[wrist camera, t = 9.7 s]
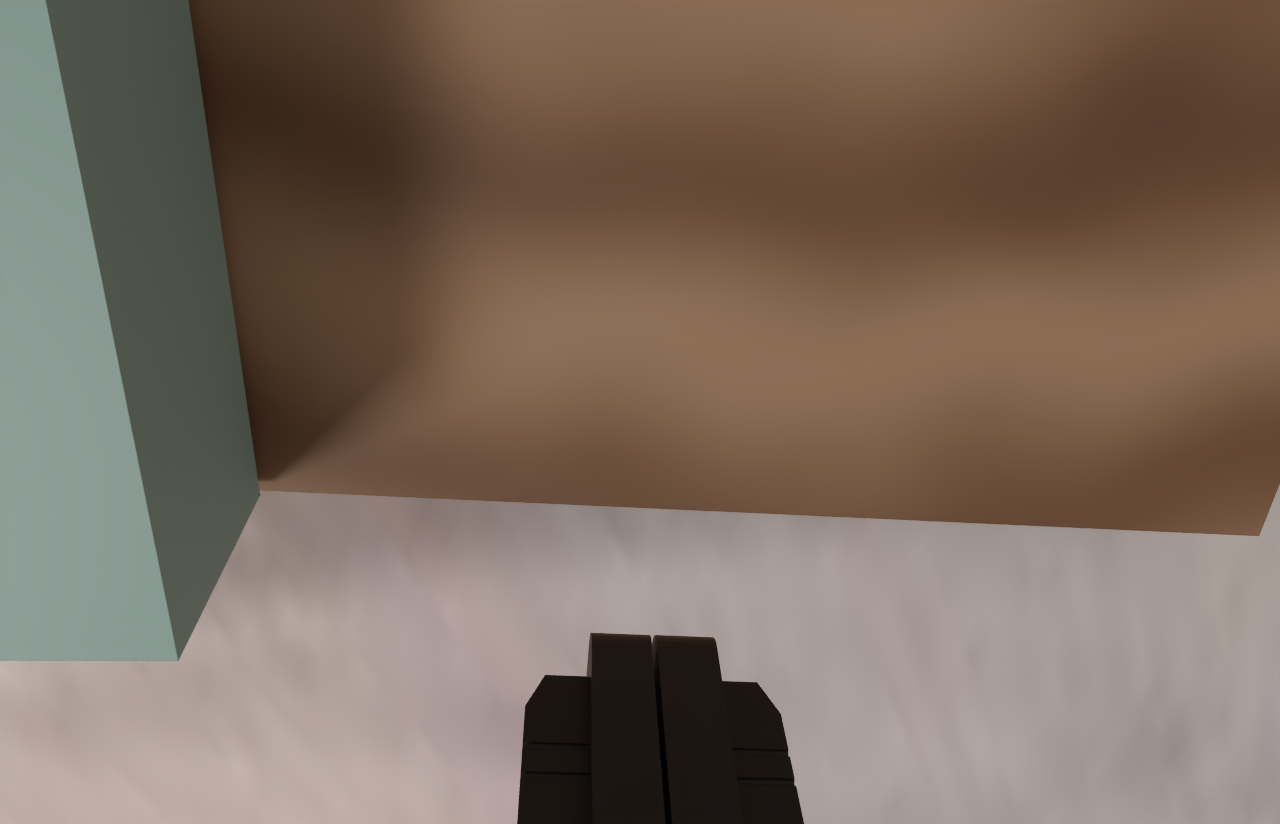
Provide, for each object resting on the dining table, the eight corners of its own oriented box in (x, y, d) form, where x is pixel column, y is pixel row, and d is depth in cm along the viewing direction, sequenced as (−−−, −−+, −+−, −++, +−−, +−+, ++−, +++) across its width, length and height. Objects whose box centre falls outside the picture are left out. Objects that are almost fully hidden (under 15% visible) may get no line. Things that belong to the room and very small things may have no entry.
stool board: (-169, -433, 18) (-631, -586, 11) (1470, -273, 19) (1925, -321, 13) (5, 416, 24) (-213, 638, 18) (1203, 475, 26) (1409, 697, 20)
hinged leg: (-127, -363, 16) (-407, -434, 11) (166, -351, 16) (2, -415, 12) (74, 493, 22) (-55, 660, 18) (280, 495, 22) (204, 661, 18)
